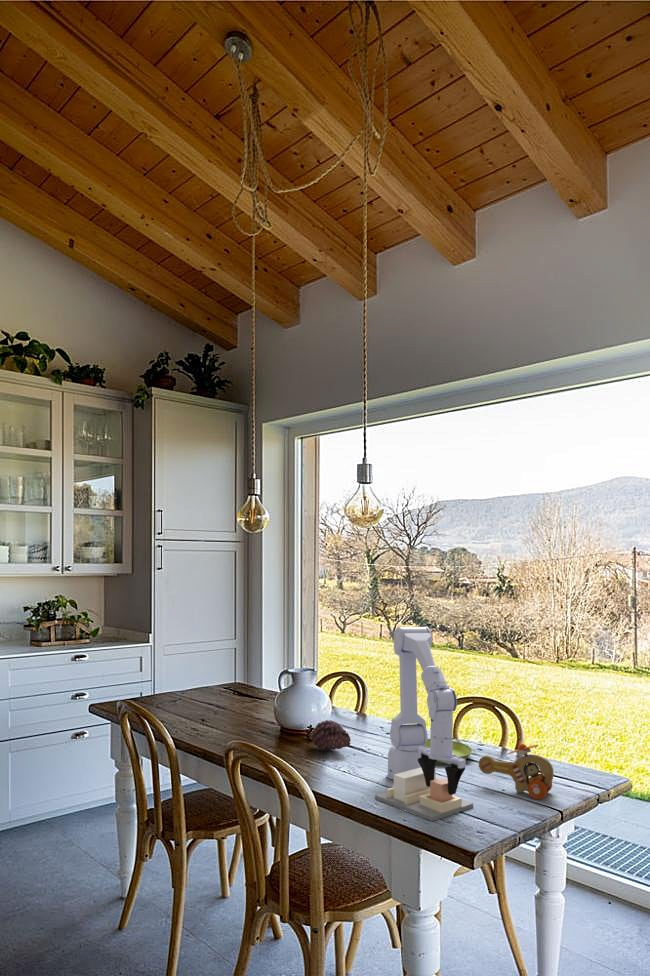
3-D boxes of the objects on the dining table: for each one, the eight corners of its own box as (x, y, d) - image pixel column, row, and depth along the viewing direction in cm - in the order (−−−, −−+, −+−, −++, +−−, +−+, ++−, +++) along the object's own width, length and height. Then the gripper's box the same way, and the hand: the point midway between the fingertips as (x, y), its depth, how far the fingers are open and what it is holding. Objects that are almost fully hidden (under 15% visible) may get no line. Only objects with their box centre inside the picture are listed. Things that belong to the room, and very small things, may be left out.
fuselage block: (393, 797, 198) (393, 774, 198) (424, 788, 206) (424, 766, 206) (404, 802, 195) (404, 778, 195) (435, 792, 203) (435, 770, 203)
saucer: (397, 761, 236) (397, 750, 236) (419, 745, 254) (419, 735, 254) (462, 771, 227) (462, 760, 227) (479, 754, 245) (479, 744, 245)
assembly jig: (375, 798, 200) (375, 787, 200) (416, 786, 210) (416, 776, 210) (431, 821, 185) (432, 808, 185) (473, 807, 195) (473, 795, 195)
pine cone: (359, 755, 240) (359, 723, 241) (336, 761, 233) (337, 728, 234) (323, 743, 253) (323, 713, 254) (300, 748, 247) (300, 717, 247)
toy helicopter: (549, 802, 200) (549, 749, 201) (474, 788, 210) (474, 738, 211) (556, 793, 207) (556, 743, 208) (483, 780, 217) (483, 732, 218)
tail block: (430, 804, 193) (430, 780, 194) (440, 801, 196) (440, 777, 196) (441, 809, 190) (441, 784, 191) (452, 805, 193) (452, 781, 193)
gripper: (410, 732, 198) (409, 785, 197) (452, 745, 187) (452, 800, 186) (428, 728, 202) (427, 780, 202) (471, 740, 191) (470, 795, 190)
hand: (440, 789), depth 194 cm, fingers open, 7 cm apart
